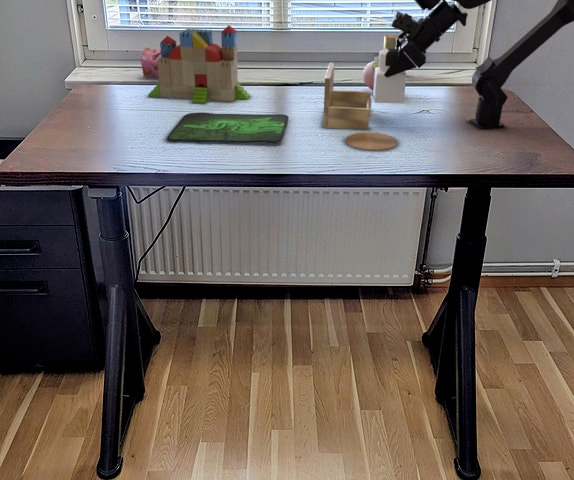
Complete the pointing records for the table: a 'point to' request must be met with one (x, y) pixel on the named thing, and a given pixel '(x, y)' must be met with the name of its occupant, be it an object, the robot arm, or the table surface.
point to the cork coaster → (371, 141)
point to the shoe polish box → (390, 41)
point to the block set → (199, 67)
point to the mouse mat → (230, 128)
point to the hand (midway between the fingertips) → (384, 72)
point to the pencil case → (150, 62)
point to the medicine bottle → (388, 79)
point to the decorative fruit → (370, 74)
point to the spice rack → (345, 106)
